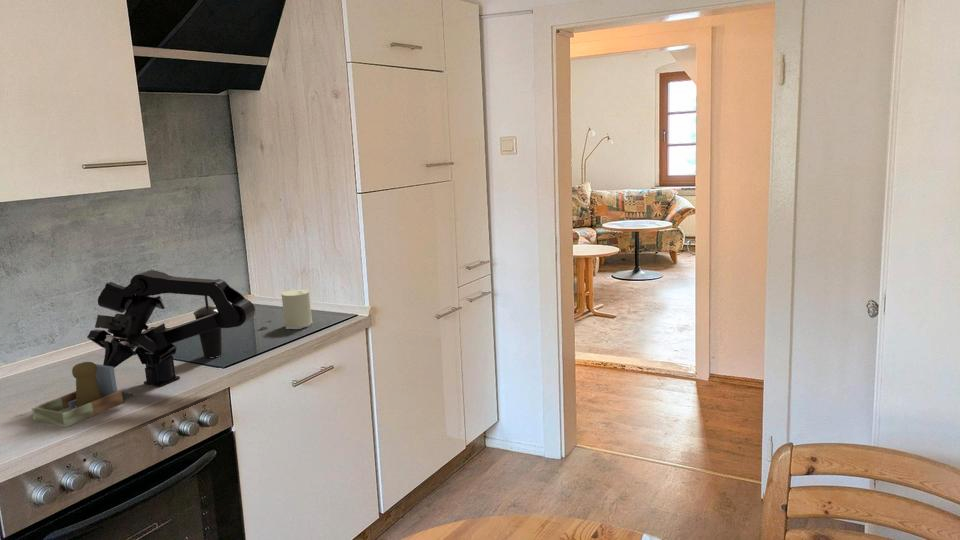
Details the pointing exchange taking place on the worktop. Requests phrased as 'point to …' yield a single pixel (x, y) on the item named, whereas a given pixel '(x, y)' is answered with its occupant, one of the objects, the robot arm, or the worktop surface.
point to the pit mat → (126, 395)
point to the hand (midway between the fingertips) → (104, 372)
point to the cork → (86, 383)
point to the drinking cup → (209, 333)
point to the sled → (103, 382)
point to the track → (52, 415)
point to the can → (296, 308)
